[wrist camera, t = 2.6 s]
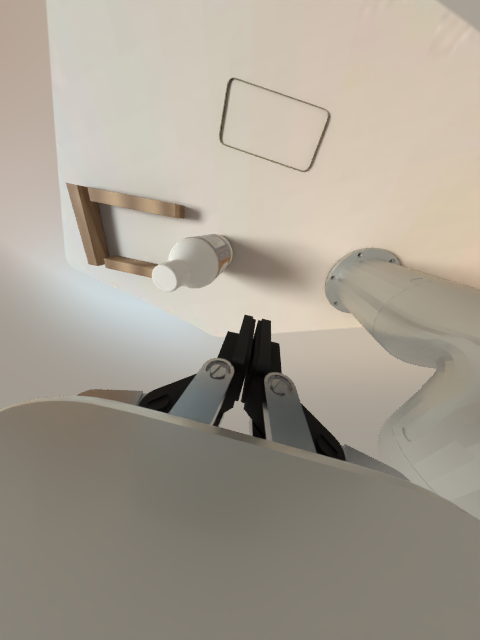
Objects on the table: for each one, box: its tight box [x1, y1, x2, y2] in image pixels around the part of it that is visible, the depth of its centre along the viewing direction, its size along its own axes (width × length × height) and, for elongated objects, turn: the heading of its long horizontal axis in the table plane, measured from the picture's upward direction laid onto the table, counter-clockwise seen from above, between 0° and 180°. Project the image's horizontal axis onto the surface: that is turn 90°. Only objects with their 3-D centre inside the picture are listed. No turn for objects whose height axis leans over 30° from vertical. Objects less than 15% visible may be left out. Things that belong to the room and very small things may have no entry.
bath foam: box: [152, 234, 233, 292], centre depth 26 cm, size 7×7×20 cm
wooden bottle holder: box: [66, 183, 184, 278], centre depth 34 cm, size 20×14×4 cm
